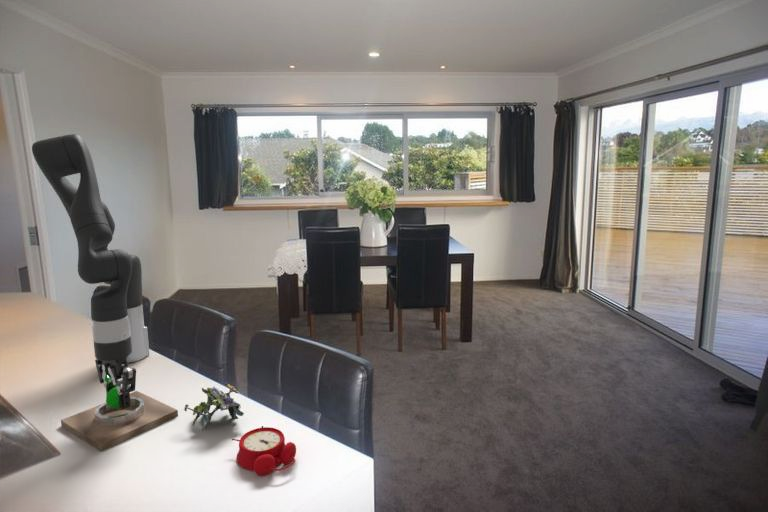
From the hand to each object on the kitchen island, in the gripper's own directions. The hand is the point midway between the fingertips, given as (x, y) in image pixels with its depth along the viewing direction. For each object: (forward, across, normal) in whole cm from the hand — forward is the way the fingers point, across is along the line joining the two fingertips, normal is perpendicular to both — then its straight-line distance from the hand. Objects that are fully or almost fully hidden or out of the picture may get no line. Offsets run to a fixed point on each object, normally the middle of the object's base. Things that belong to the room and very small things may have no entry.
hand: (118, 404), depth 111 cm
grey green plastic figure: (+4, -20, -12) cm, 24 cm away
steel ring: (+3, 0, 0) cm, 3 cm away
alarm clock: (+5, -40, -9) cm, 41 cm away
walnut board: (+4, 0, 0) cm, 4 cm away
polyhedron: (+1, 0, 0) cm, 1 cm away
